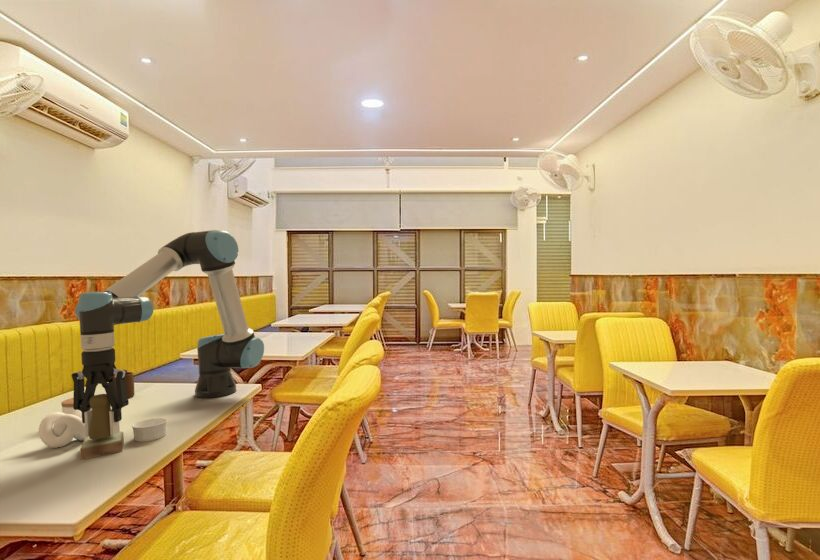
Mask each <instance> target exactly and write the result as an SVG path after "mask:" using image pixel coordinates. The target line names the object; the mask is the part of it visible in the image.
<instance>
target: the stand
mask: <svg viewBox="0 0 820 560" xmlns="http://www.w3.org/2000/svg"><path fill="white" fill-rule="evenodd" d="M124 442H125V441H124V432H123V431H122V430H121V431H120V432H119V433H117V434H115V435H112V436H109V437H106V438H101V439H90V438H89V437H87V438H85V439H84V440H83V443H82V445H81V446H80V460H84V459H85V460H86V459H90V458H94V457H101V456H105V455H111V454H115V453H120V452H123V447H124Z"/></svg>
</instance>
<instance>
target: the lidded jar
mask: <svg viewBox="0 0 820 560" xmlns="http://www.w3.org/2000/svg"><path fill="white" fill-rule="evenodd" d="M95 395H96V394H94V396H95ZM73 398H74V397H71V398H70V397H69V398H67V399H66V400H65V399H64V400H63V401H61V411H62V412H61V413H65V414H73V413H74V411H75V410H74V408H73ZM91 409H92V408H91ZM91 409H90V410H91Z"/></svg>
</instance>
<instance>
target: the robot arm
mask: <svg viewBox="0 0 820 560" xmlns="http://www.w3.org/2000/svg"><path fill="white" fill-rule="evenodd" d="M238 253H239V245H238V242H237V240H236V239H235V236H233V235H232V234H231V233H229V232H228V231H226V230H216V229H212V230H205V231H204V230H202V231H193V232H188V233H184V234H182V235H180V236H177V238H175V239H173V240H171V241H169V242H168V243H167V244H165V245H163V246H162V247H160V248H159V249H158V251H157V254H156V255H154V256H153V257H150V259H149V260H146V262H145V263H142V264H141V265H140V266H138V267H136V268H135V269H133V271H131V272H129V273H128V274H126V275H125V276H123V277H122V278H121V279H119V280H118V281H116V282H115V283H114V284H112V285H111V286H109V287H107V288H106V289H105V290H103V291H97V292H96V291H95V292H94V291H93V292H83V293H80V294H79V297H78V302H77V304H76V305H75V308H74V314H75V316H76V318H77V319H78V320H79V332H80V348H81V350H83V351H81V365H82V366H83V367H82V370H81V371H78V372H73V373H72V374H71V378H72V382H73V397H72V398H73V408H74V410H80V411H81V412H82V422H83V423H85V435H86V436H90V427H91V417H92V409H91V407H90V403H89V402H90V399H91V397H93V396H94V395H96V394H95V393H96V389H97V386H98V385H101V388H103V389H104V391H105V394H107V397H108V399H109V402H110V407H111V411H109V417H110V435H115V434H117V433H119V432H121V431H120V421H122V419H123V418H122V416H123V415H122V409H123V408H124V407H127V406H129V403H130V402H129V398H128V393H127V385H126V375H127V372H128V370H127V369H119V368H117V367H116V364H115V363H116V349H115V348H113V347H114V346H115V345H116V343H115V326H117V325H125V324H133V323H141V322H145V321H148V320H149V319H151V317H152V316H153V314H154V304H153V301H152V300H151V299H150V298H149V297H148V296H143V294H144V293H145V292H147V291H148V290H149V289H151V288H152V287H153V286H155V285H157V283H159V282H160V281H162V280H163V279H164V278H166V277H167V276H168V275H170V274H171V273H173V272H179V271H180V270H181V269H182V268H185V267H188V266H191V265H199V266H200V270H201V272H202V273H204V274H207V277H208V280H209V284H210V287H211V291H212V294H213V297H214V301H215V304H216V307H217V312H218V315H219V318H220V322H221V325H222V328H223V332H224V333H221V334H213V335H209V336H203V337H200V338H199V339H198V340H197V349H196V350H197V361H198V362H197V363H198V379H197V381H196V386H195V388H194V396H195V397H196V398H201V399H207V398H217V397H223V396H227V395H228V396H229V395H231V394H234V393H235V392H237V383H236V382H235V379H234V376H233V374H232V371H231V368H232V369H233V368H237V369H241V368H242V369H248V368H249V369H252V368H254V367H257V366H258V365H259V364H260V363H261V361H262V359H263V356H264V353H265V344H264V341H263V340H262V339H261V338H260V337H258V336H256V335H255V333H254V329H252V328H251V327H249V326H248V322H247V319H246V314H245V311H244V308H243V304H242V300H241V297H240V293H239V289H238V286H237V282H236V279H235V275H234V271H233V268H234V267H235V264H236V262H235V260H237V258H238ZM114 374H115V378H116V388H117V390H116V388H115V385H114V383H115V381H114V379H113V375H114ZM85 379H86V380H85ZM90 409H91V410H90Z"/></svg>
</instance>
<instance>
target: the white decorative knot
mask: <svg viewBox="0 0 820 560" xmlns="http://www.w3.org/2000/svg"><path fill="white" fill-rule="evenodd" d="M38 435H39V439H40V440H41V442H42V443H43V444H44V445H45V446H47V447H49V448H52V449H57V448H58V447H59V448H63V447H65V446H67V445H68V444H70V443H71V441H72V440H73V439H75V440H77V441H83V442H84V439H85V438H87V437H89V436H86V435H85V423H83V422H82V412H81V411H80V410H75V411H74V413H73V414H65V413H63V412H60V411H54V412H51V413H49V414H47V415H46V416H45V417H43V418H42V420H41V421H40V423H39V425H38ZM59 448H58V449H59Z"/></svg>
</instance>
